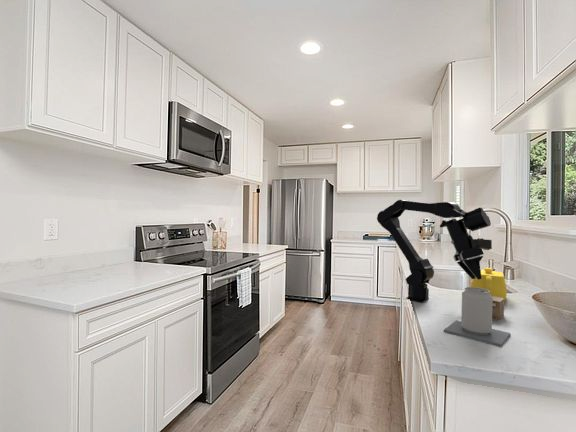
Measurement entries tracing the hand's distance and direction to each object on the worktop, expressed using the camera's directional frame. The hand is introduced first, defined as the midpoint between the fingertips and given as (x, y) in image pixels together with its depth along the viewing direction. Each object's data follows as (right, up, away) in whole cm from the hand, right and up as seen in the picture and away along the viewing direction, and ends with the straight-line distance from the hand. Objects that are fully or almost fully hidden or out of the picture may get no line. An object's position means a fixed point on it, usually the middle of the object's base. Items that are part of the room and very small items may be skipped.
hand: (476, 278), depth 109 cm
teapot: (+17, -12, +21) cm, 30 cm away
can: (-11, -11, -18) cm, 24 cm away
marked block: (+3, -12, -3) cm, 13 cm away
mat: (-11, -12, -18) cm, 24 cm away
